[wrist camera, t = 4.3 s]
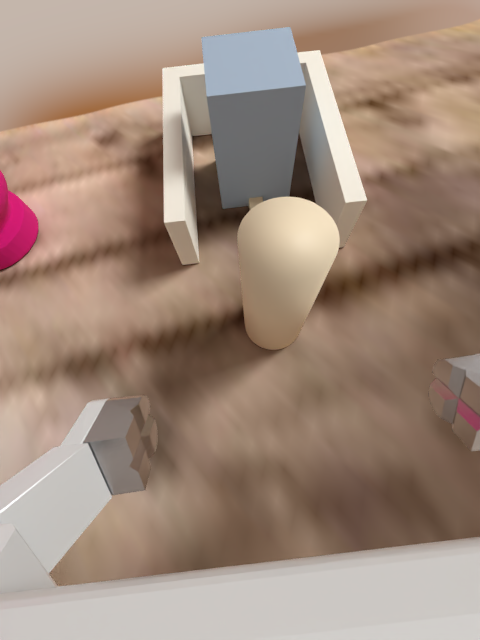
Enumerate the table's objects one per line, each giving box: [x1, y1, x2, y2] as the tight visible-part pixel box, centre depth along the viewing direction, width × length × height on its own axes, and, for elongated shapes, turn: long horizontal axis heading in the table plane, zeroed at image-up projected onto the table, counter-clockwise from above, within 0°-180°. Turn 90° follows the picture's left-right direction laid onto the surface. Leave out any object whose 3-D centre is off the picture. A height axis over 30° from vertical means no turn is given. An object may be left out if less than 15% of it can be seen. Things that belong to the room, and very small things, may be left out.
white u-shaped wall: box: [163, 50, 367, 265], centre depth 21 cm, size 14×11×4 cm
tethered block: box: [202, 27, 340, 350], centre depth 17 cm, size 16×5×9 cm, turn 6°
